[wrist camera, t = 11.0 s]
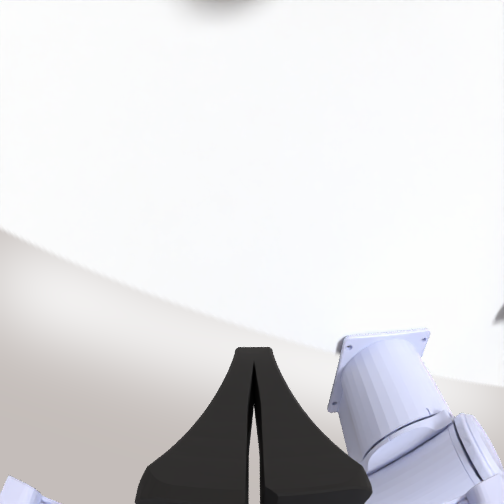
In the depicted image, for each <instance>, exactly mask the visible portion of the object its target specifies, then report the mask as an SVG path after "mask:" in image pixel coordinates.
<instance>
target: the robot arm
mask: <svg viewBox="0 0 504 504" xmlns="http://www.w3.org/2000/svg"><path fill="white" fill-rule="evenodd" d="M429 336H430V331H429V329H427V328H424V329H415V330H406V331H397V332H386V333H375V334H362V335H350V336H347V337H345V338H344V340H343V345H342V349H341V354H340V359H339V364H338V368H337V372H336V376H335V380H334V384H333V388H332V392H331V396H330V400H329V404H328V412H331V413H332V412H338V413H339V418H340V422H341V425H342V430H343V434H344V438H345V443H346V447H347V451H348V455H349V456H348V455H347V454H346V453H344V452H343V451H342V450H341V449H340V448H339V447H337V446H336V445H335V444H334V443H333V442H332V441H331V440H330V439H329V438H328V437H327V436H326V435H325V434H324V433H323V432H322V431H321V430H320V429H319V428H318V427H317V426H316V425H315V424H314V423H313V422H312V420H311V419H310V418H309V417H308V415H307V414H306V413H305V412H304V410H303V409H302V407H301V406H300V405H299V403H298V402H297V400H296V399H295V397H294V396H293V394H292V393H291V391H290V389H289V388H288V386H287V384H286V382H285V380H284V378H283V376H282V374H281V372H280V370H279V368H278V366H277V363H276V361H275V358H274V355H273V352H272V349H271V348H270V347H238V348H237V349H236V350H235V355H234V358H233V361H232V363H231V366H230V368H229V370H228V373H227V375H226V377H225V379H224V381H223V383H222V385H221V386H220V388H219V390H218V391H217V393H216V395H215V396H214V398H213V400H212V401H211V403H210V404H209V406H208V407H207V409H206V410H205V411H204V413H203V414H202V415H201V417H200V418H199V419H198V420H197V422H196V423H195V424H194V425H193V426H192V427H191V429H190V430H189V431H188V432H187V433H186V434H185V435H184V436H183V437H182V438H181V439H180V440H179V441H178V442H177V443H176V444H175V445H174V446H173V447H171V448H170V449H169V450H168V451H167V452H166V453H164V454H163V455H162V456H161V457H159V458H158V459H157V460H155V461H154V462H153V463H152V464H150V465H149V466H148V467H147V468H146V470H145V472H144V474H143V476H142V478H141V480H140V483H139V486H138V490H137V494H136V499H135V503H136V504H248V487H249V485H248V483H249V482H248V481H249V479H248V478H249V472H248V471H249V468H248V467H249V445H250V436H251V427H252V417H253V408H255V418H256V426H257V435H258V443H259V454H260V504H504V470H503V467H502V464H501V461H500V459H499V457H498V455H497V453H496V451H495V449H494V447H493V445H492V443H491V441H490V439H489V438H488V436H487V434H486V433H485V431H484V430H483V428H482V426H481V425H480V423H479V422H478V421H477V419H476V418H475V417H474V416H473V415H472V414H464V413H460V414H459V415H457V416H456V417H454V416H453V414H452V412H451V411H450V409H449V407H448V405H447V403H446V401H445V399H444V398H443V396H442V394H441V392H440V390H439V388H438V387H437V385H436V383H435V381H434V380H433V378H432V376H431V374H430V373H429V371H428V369H427V367H426V366H425V364H424V362H423V360H422V359H421V357H422V354H423V352H424V349H425V347H426V344H427V341H428V339H429ZM349 345H351V346H350V347H347V346H349ZM0 504H62V503H59V502H57V501H54V500H52V499H49V498H47V497H45V496H42V495H41V494H40V492H38V491H37V490H36V489H35V488H33V487H32V486H30V485H28V484H26V483H24V482H22V481H20V480H18V479H16V478H14V477H12V476H8V478H7V480H6V482H5V484H4V487H3V489H2V491H1V494H0Z"/></svg>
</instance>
